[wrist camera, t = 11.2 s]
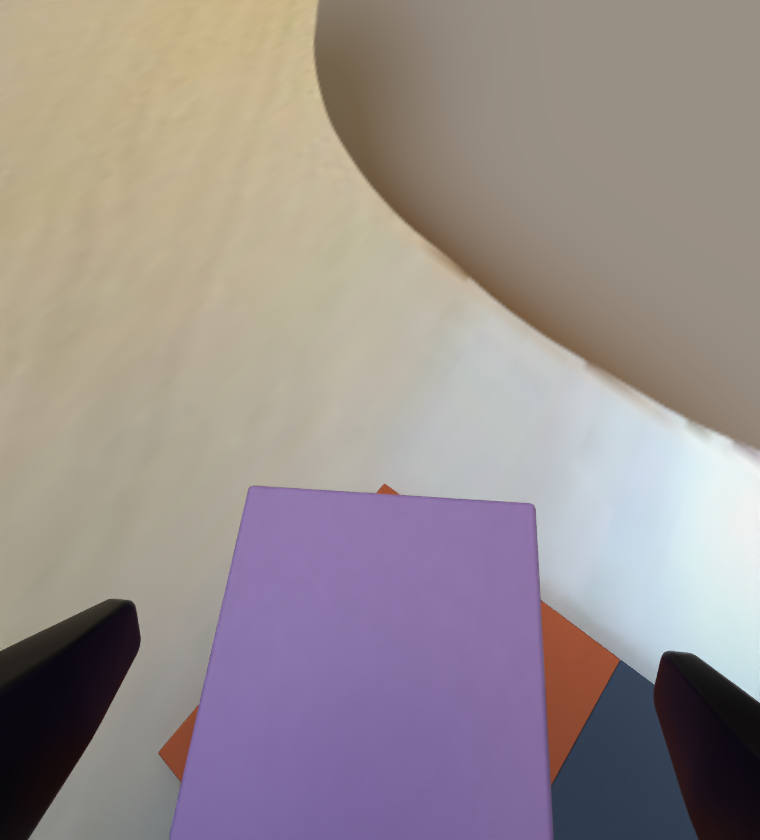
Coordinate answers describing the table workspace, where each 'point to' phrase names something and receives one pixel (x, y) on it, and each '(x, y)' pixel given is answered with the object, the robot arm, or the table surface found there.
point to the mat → (584, 743)
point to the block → (374, 675)
